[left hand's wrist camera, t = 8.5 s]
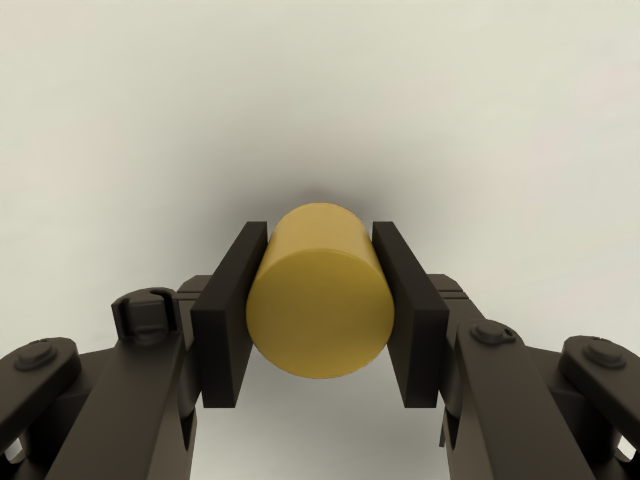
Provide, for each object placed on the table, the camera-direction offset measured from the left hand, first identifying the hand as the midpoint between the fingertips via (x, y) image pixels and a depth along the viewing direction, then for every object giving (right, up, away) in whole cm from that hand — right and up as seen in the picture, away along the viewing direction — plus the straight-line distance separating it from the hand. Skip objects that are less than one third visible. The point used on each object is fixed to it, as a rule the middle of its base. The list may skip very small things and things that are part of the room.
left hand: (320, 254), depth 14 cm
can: (0, 0, 0) cm, 0 cm away
